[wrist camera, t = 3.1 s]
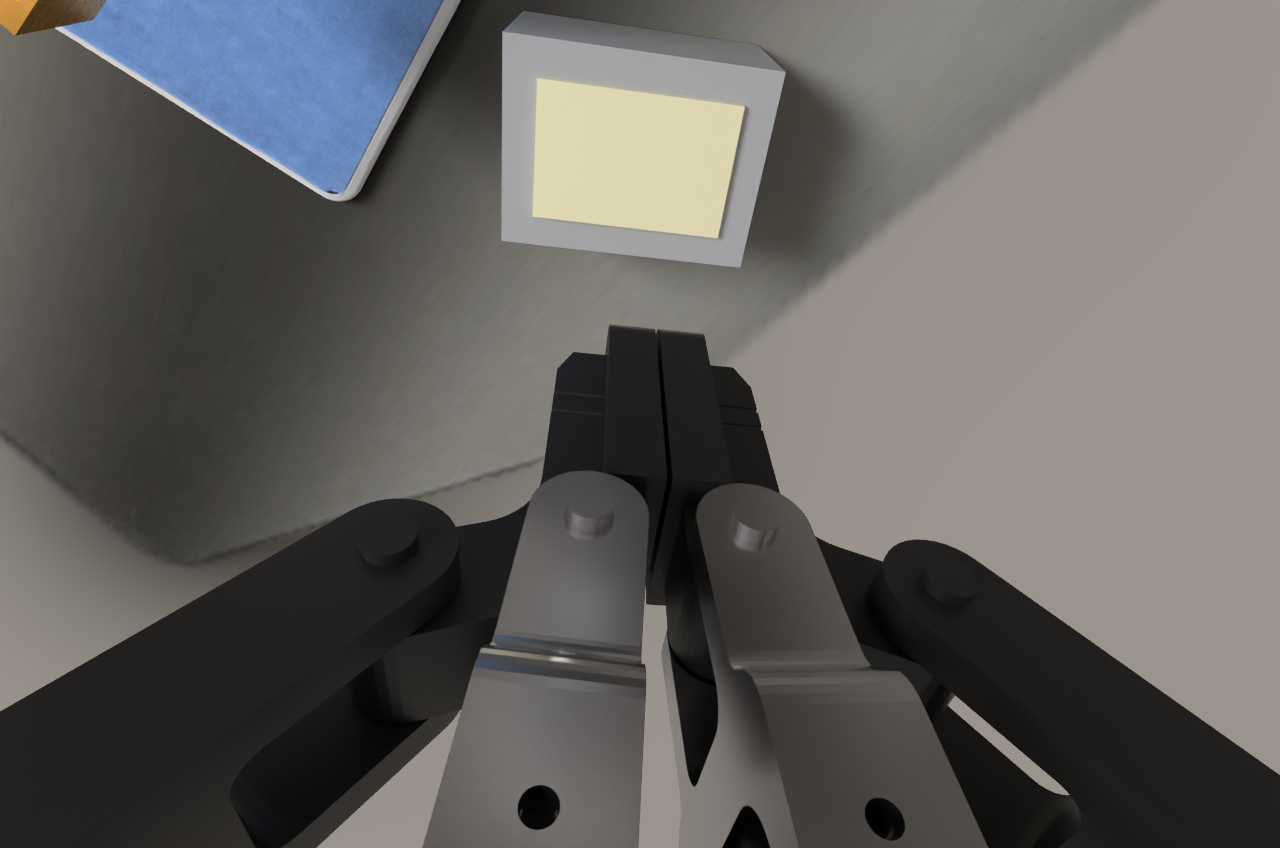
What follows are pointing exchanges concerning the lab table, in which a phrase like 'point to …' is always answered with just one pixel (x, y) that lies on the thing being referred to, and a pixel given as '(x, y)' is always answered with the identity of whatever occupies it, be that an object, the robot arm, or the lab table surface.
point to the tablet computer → (280, 72)
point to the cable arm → (46, 14)
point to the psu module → (633, 138)
